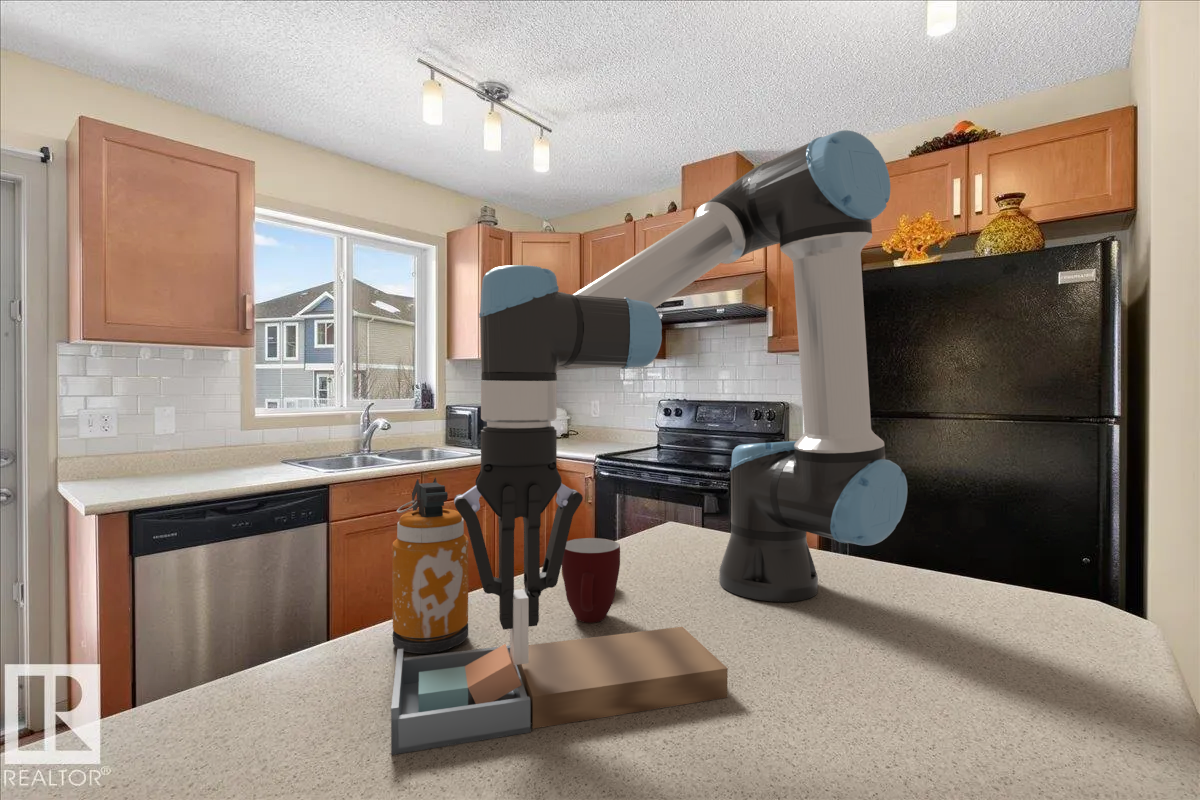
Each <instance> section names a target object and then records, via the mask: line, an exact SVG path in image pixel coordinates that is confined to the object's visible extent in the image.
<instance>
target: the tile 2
mask: <svg viewBox="0 0 1200 800" xmlns="http://www.w3.org/2000/svg"><path fill="white" fill-rule="evenodd" d="M507 646H508V645H507V644H506V643H504V644H502V645H499V646H498V647H499V648H497V649H495V650H493V651H491V652H490V653H488V654H486V655H484V656H482V657H481V658H479V659H477V660H475V661H473V662H472V663H470V664H468V665H466V666H465V671H466V678H467V685H468V689H469V691H470V693H471V695H472V697H473V699H474V701H475V703H476V704H481V703H488V702H493V701H495V700H497V699H499V698H500V697H502V696H504V695H505V694H507V693H509V692H511V691H512V690H514V689H516V688H518V687H519V686H521V685H522V684H521V681H520V678H519V675H518V672H517V669H516V666H515V665H514V664H513V661H512V658H511V655H510V653H509V650H508V648H507Z"/></svg>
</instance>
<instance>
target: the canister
mask: <svg viewBox="0 0 1200 800" xmlns="http://www.w3.org/2000/svg"><path fill="white" fill-rule="evenodd" d="M448 494H449V493H448V491H446V486H445V485H444V484H443V485H442V484H440V483H438V481H437V478H436V477H434V478H433V482H426V483H425V482H424V483H420V480H419V478H417V479H416V482H415V484H414V487H413V490H412V492H411V499H412V500H411V501H409V502H406V503H405V504H403V505H401V506H400V507H398V509H397V510H396V512H397V514H401V513H403V514H402V515H401V516H400V517H399V520H398V522H397V524H396V525H397V527H396V528H397V531H396V532H397V534H396V535H397V536H396V539H395V540H393V542H392V644H393V645H394V647H395V648H397V649H403V652H406V653H407V652H408V653H413V654H418V655H420V654H421V655H422V654H423V655H431V654H438V653H441V652H444V651H446V650H449V649H452V648H454V647H456V646H458V645H460V644H462V643H463V642H464V641H465V640H467V638H468V637H469V537H468V536H467V535H466V534H465V531H464V530H465V529H464V527H465V526H464V523H465V520H464V519H463V517H462V516H461V514H460V513H459V512H458V510H457V509H456V510H455V509H450V508H443V507H444V506H445V502H447V501H448V496H449V495H448ZM410 504H412V505H411V506H409V505H410ZM406 506H409V507H408V508H405V507H406ZM403 508H405V509H403ZM411 509H412V510H411ZM410 510H411V511H410ZM407 511H408V512H407Z"/></svg>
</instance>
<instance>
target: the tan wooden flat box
mask: <svg viewBox="0 0 1200 800" xmlns="http://www.w3.org/2000/svg"><path fill="white" fill-rule="evenodd" d="M517 667H518V670H519V673H520V676H521V679H522V682H523V685H524V688H525V691H526V694H527V697H530V726H531V729H532V730H533V729H539V728H540V729H541V728H545V727H551V726H552V727H553V726H559V725H563V724H565V725H566V724H570V723H575V722H576V723H577V722H583V721H589V720H595V719H601V718H606V717H607V718H608V717H613V716H621V715H626V714H627V715H628V714H633V713H639V712H645V711H650V710H651V711H652V710H656V709H657V710H658V709H663V708H670V707H675V706H676V707H677V706H683V705H689V704H696V703H701V702H707V701H713V700H720V699H726V698H728V674H729V673H728V669H729V668H728V667H727V666H726V665H725V664H724V663H723V662H722V661H720V660H719V659H718V657H716V656H715V655H714V654H713V653H712V652H711V651H709V650H708V649H707V647H705V646H704V645H703V644H702V643H701V642H700V641H699V640H698V639H696V637H694V636H693V634H691V633H690V632H689V631H688V630H687V629H686V628H684V627H683V626H676V627H669V628H659V629H652V630H643V631H636V632H634V631H633V632H626V633H625V632H624V633H617V634H610V635H602V636H601V635H600V636H594V637H586V638H585V637H583V638H575V639H568V640H560V641H553V642H552V641H549V642H543V643H534V644H529V663H526V664H518V665H517Z"/></svg>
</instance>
